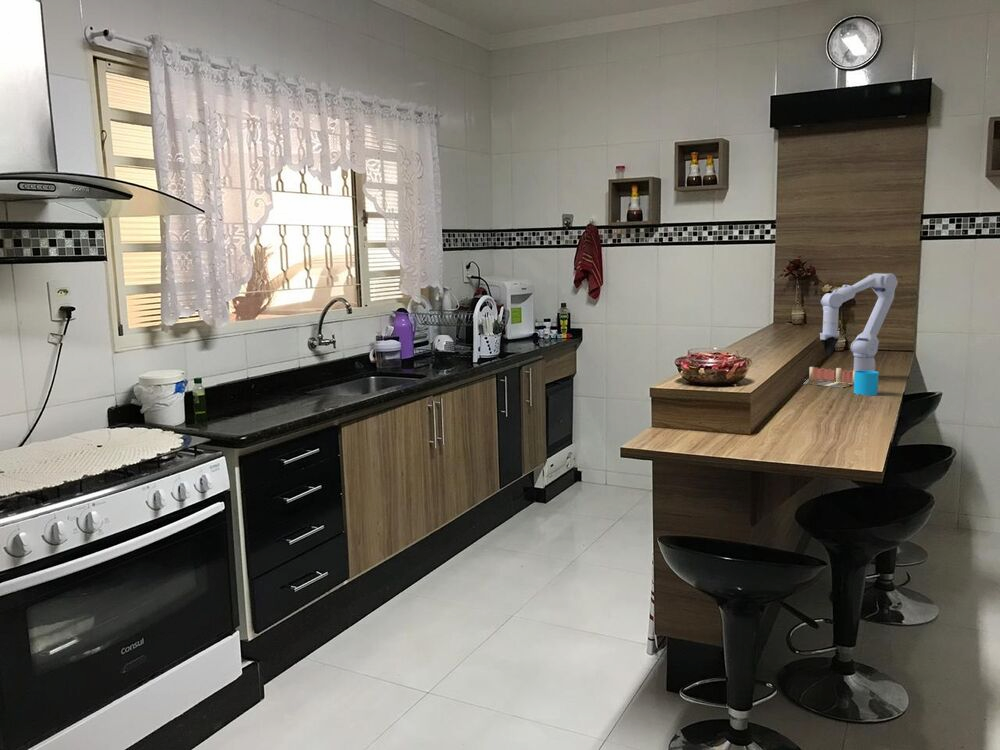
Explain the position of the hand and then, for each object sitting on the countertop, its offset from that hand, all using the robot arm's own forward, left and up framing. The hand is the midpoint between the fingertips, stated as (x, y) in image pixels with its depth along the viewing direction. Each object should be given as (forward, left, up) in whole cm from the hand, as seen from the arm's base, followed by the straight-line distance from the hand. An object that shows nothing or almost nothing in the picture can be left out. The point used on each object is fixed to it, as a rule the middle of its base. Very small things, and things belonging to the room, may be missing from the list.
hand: (828, 355), depth 334 cm
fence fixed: (+5, +10, -10) cm, 15 cm away
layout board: (+5, +3, -10) cm, 12 cm away
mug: (+21, +24, -10) cm, 33 cm away
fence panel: (+5, 0, -9) cm, 11 cm away
